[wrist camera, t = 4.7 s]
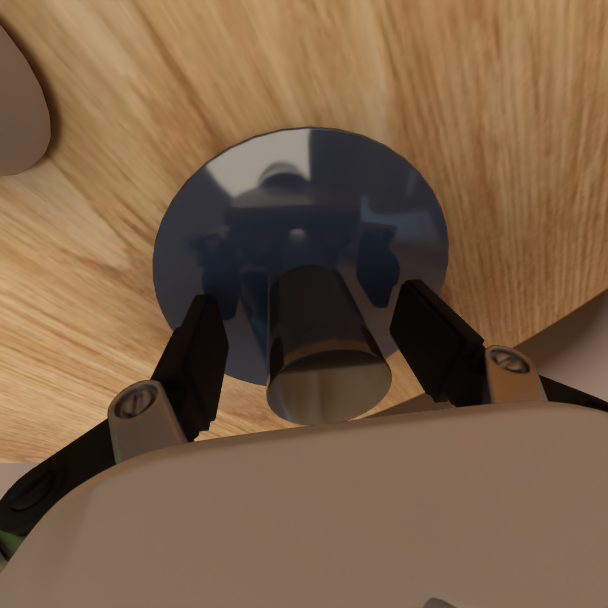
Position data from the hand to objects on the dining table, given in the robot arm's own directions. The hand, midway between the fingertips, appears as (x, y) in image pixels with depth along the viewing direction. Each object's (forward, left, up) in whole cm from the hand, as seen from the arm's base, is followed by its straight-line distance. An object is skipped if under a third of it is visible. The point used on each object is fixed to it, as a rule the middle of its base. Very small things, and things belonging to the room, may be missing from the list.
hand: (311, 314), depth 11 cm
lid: (0, 0, -1) cm, 1 cm away
